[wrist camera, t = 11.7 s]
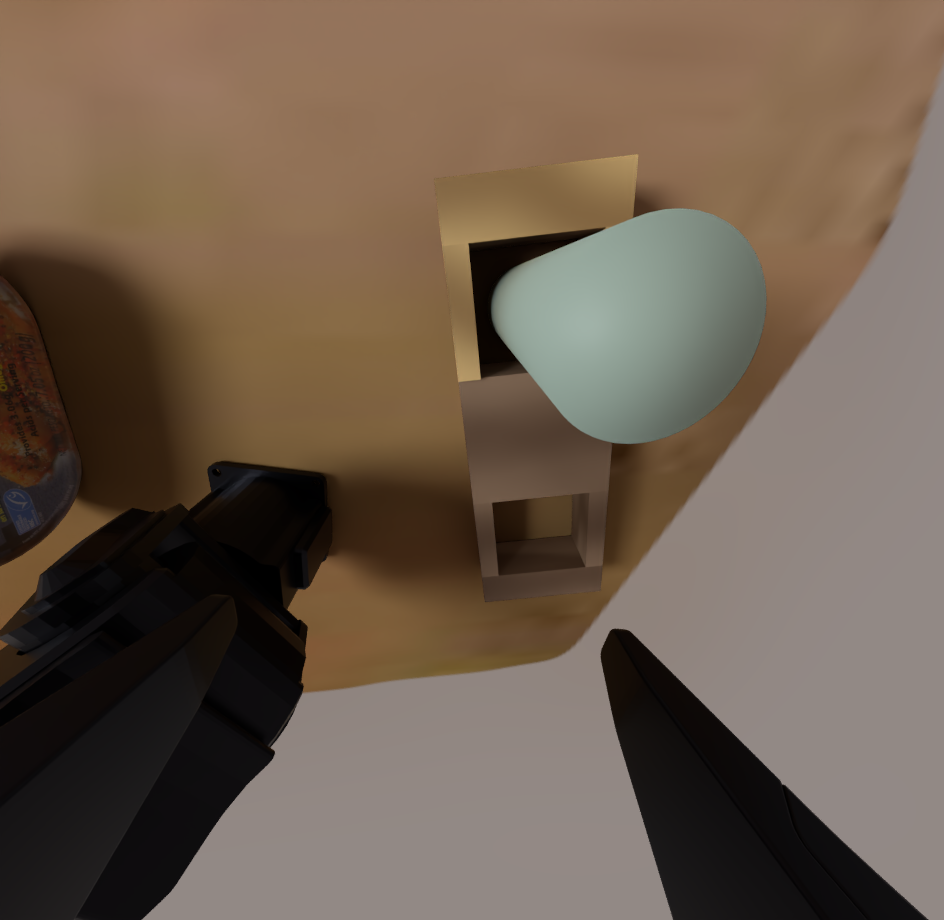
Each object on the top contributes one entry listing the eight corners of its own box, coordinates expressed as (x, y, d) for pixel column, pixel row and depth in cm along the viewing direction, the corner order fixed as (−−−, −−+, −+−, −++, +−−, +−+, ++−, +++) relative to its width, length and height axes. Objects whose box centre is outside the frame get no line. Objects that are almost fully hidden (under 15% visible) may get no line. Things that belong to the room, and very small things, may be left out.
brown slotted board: (585, 557, 25) (602, 594, 22) (482, 567, 25) (485, 605, 22) (603, 180, 15) (638, 153, 12) (439, 199, 15) (434, 178, 12)
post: (507, 357, 18) (587, 475, 7) (473, 290, 17) (502, 295, 5) (570, 321, 18) (781, 383, 6) (541, 248, 16) (743, 149, 5)
